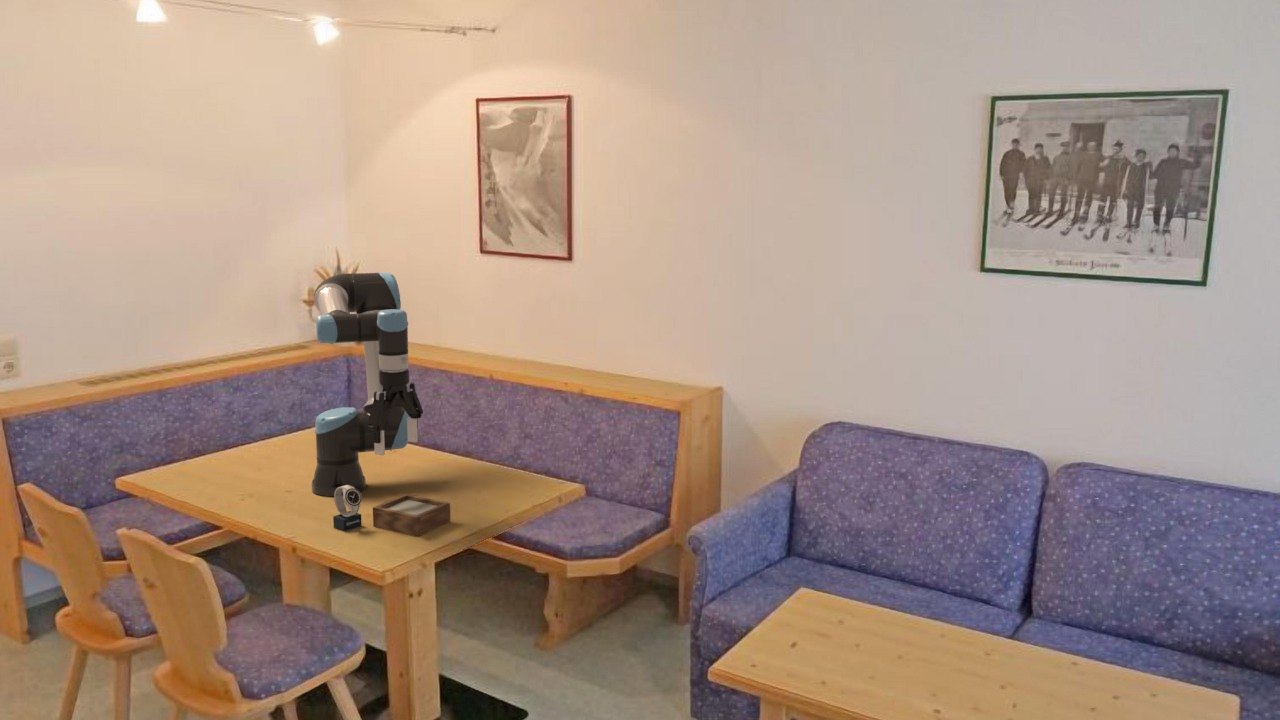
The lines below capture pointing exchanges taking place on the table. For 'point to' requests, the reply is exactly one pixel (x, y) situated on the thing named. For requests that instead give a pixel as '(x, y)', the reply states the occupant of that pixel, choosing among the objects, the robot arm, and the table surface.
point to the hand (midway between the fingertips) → (396, 448)
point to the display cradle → (411, 515)
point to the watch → (353, 502)
